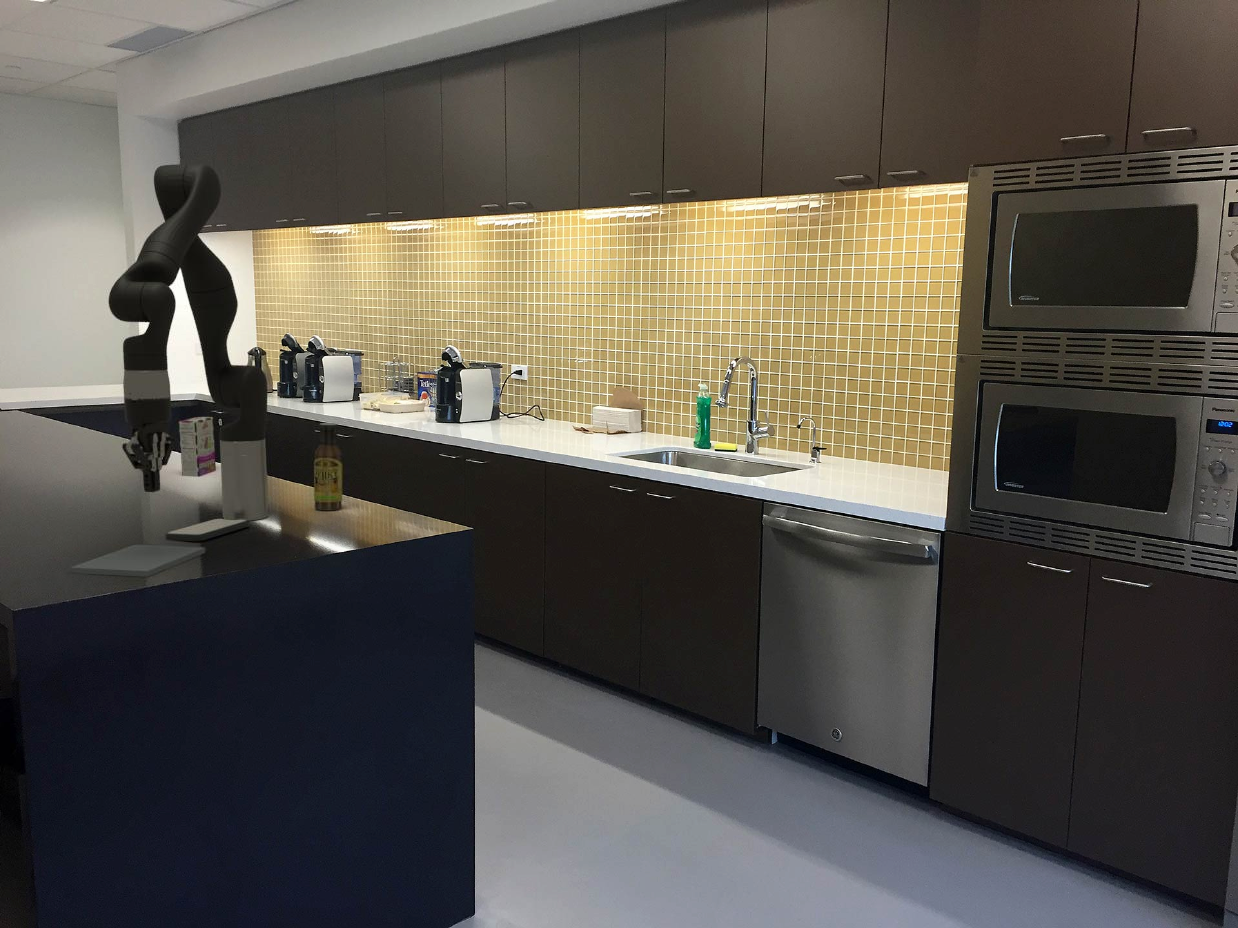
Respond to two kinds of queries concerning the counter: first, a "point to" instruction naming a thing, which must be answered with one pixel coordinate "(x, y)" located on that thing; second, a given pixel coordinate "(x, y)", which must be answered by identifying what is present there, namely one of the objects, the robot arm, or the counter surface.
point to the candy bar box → (197, 446)
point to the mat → (138, 560)
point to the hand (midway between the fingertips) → (152, 491)
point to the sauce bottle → (328, 469)
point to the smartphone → (207, 530)
